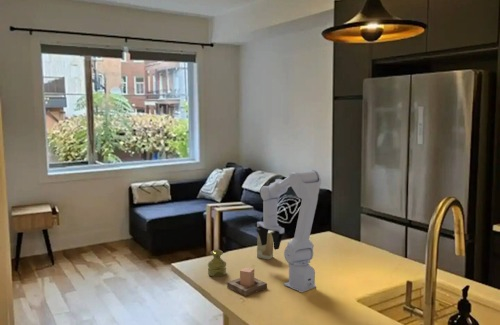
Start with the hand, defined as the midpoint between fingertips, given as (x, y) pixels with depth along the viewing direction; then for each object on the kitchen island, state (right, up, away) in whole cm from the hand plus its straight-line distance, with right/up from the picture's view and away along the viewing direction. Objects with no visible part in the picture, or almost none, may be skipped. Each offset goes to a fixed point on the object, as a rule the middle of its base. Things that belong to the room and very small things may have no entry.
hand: (270, 246), depth 183 cm
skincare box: (-2, -8, +15) cm, 17 cm away
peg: (-9, -12, -18) cm, 24 cm away
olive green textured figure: (-22, -10, -4) cm, 24 cm away
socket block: (-10, -12, -18) cm, 24 cm away
